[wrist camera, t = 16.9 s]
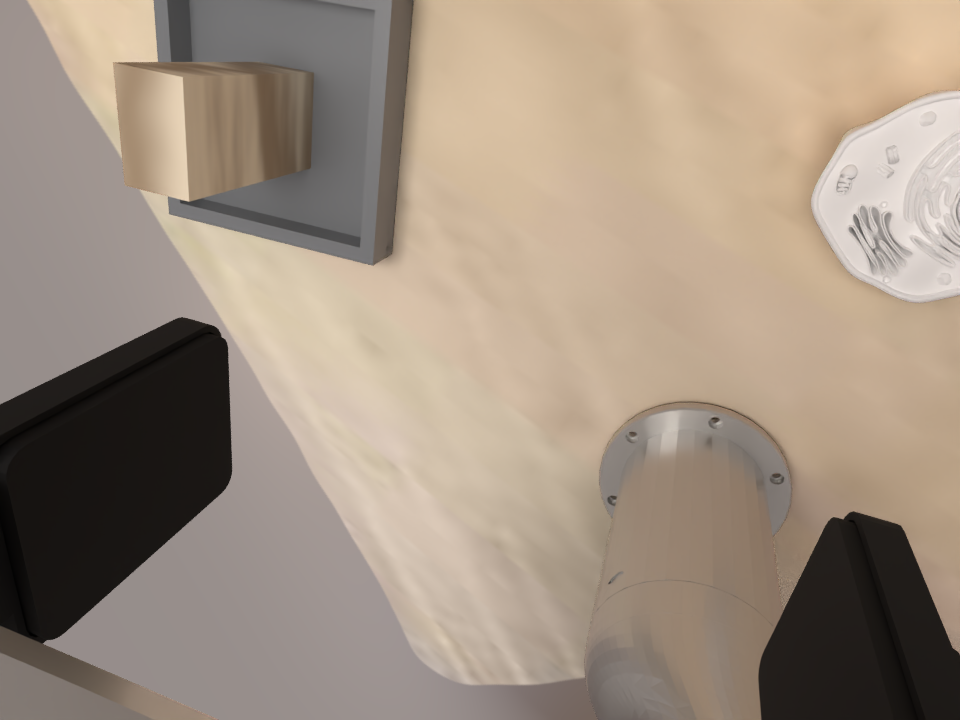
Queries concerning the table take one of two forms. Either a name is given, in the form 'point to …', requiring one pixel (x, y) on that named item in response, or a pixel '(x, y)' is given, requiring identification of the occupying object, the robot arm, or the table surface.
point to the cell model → (898, 200)
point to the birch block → (211, 125)
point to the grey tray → (335, 122)
